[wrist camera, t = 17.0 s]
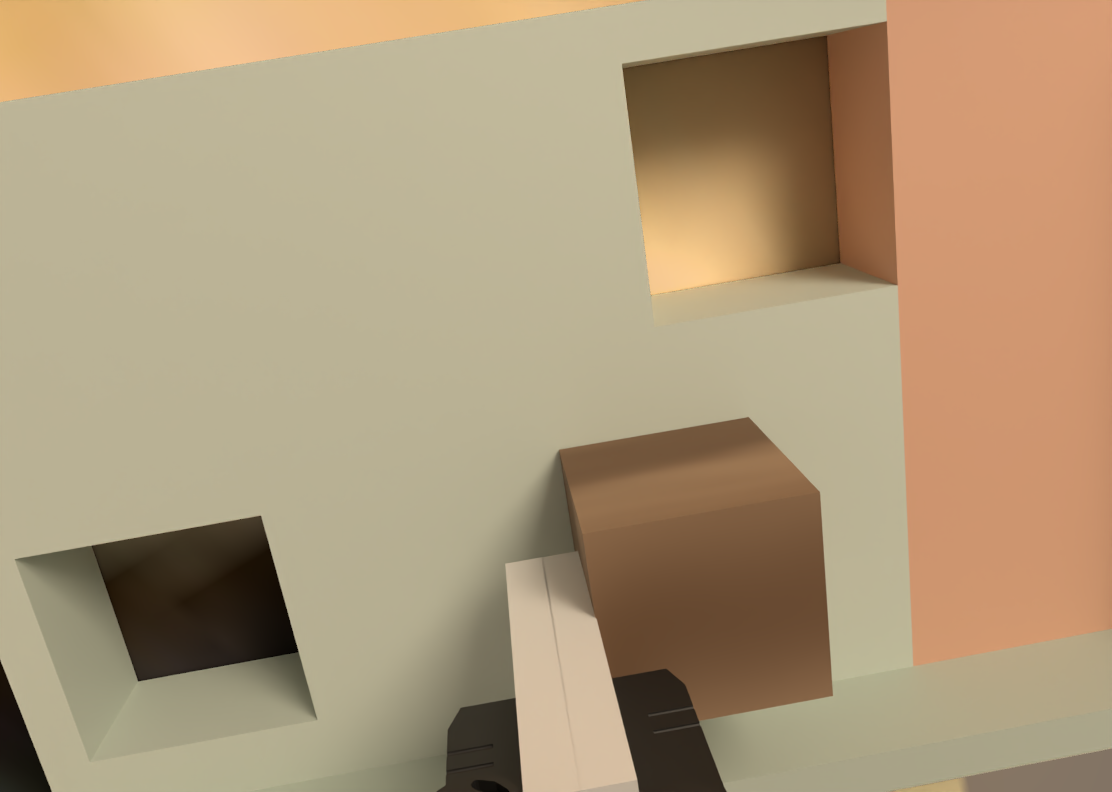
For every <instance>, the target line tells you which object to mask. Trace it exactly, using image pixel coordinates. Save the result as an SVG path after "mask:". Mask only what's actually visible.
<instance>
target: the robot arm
mask: <svg viewBox="0 0 1112 792" xmlns="http://www.w3.org/2000/svg"><path fill="white" fill-rule="evenodd" d="M505 567H506V580H507V593H508V605H509V618H510V631H511V644H512V657H513V670H514V683H515V696H516V698H512V699H506V700H501V701H495V702H489V703H484V704H478V705H473V706H467V707H462V708H460V710H459V711H458V713H457V715H456V716H455V718H454V720H453V722H452V723H451V725H450V727H449V728H448V734H447V760H446V773H447V775H446V785H445V786H444V787H442V788H441V789H439V790H438V791H437V792H727V791H726V789H725V787H724V785H723V782H722V780H721V777H720V775H719V772H718V769H717V767H716V764H715V761H714V759H713V756H712V754H711V751H710V748H709V746H708V743H707V740H706V738H705V735H704V733H703V730H702V727H701V726H700V722H699V719H698V717H697V714H696V712H695V709H694V708H693V704H692V701H691V698H690V696H689V693H688V691H687V688H686V685H685V684H684V683H683V682H682V681H681V680H679V679H678V678H677V677H676V676H675V675H673V674H672V673H671V672H670V671H669V670H667V669H661V670H655V671H649V672H644V673H638V674H633V675H627V676H622V677H616V678H611V674H610V670H609V666H608V662H607V658H606V654H605V650H604V646H603V642H602V638H601V634H600V630H599V627H598V623H597V619H596V618H595V615H594V611H593V607H592V603H591V600H590V596H589V592H588V588H587V584H586V580H585V576H584V573H583V569H582V565H581V561H580V557H579V553H578V551H575V552H569V553H564V554H558V555H552V556H546V557H541V558H535V559H529V560H523V561H518V562H512V563H506V564H505Z"/></svg>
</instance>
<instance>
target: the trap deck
mask: <svg viewBox="0 0 1112 792" xmlns="http://www.w3.org/2000/svg"><path fill="white" fill-rule="evenodd" d="M821 36H827V47H828V63H829V80H830V97H831V114H832V130H833V147H834V164H835V181H836V197H837V214H838V231H839V248H840V263H838V264H832V265H826V266H820V267H814V268H809V269H803V270H797V271H791V272H785V273H779V274H773V275H768V276H762V277H756V278H750V279H744V280H738V281H732V282H727V283H721V284H715V285H709V286H703V287H697V288H691V289H685V290H680V291H674V292H668V293H662V294H656V295H650V287H649V279H648V270H647V262H646V254H645V246H644V238H643V230H642V222H641V214H640V206H639V198H638V190H637V182H636V174H635V166H634V158H633V150H632V142H631V134H630V126H629V118H628V110H627V102H626V94H625V86H624V78H623V70H622V68H628V67H634V66H640V65H646V64H653V63H659V62H665V61H671V60H677V59H684V58H690V57H696V56H702V55H709V54H715V53H721V52H727V51H733V50H740V49H746V48H752V47H758V46H765V45H771V44H777V43H783V42H789V41H796V40H802V39H808V38H814V37H821ZM746 417H749V418H750V419H751V420H752V421H753V422H754V423H755V424H756V425H757V426H758V427H759V428H760V429H761V431H762V432H763V433H764V434H765V435H766V436H767V437H768V438H769V439H770V440H771V441H772V442H773V443H774V444H775V445H776V446H777V447H778V448H779V449H780V451H781V452H782V453H783V454H784V455H785V456H786V457H787V458H788V459H789V460H790V461H791V462H792V463H793V464H794V465H795V466H796V467H797V468H798V469H799V470H800V472H801V473H802V474H803V475H804V476H805V477H806V478H807V479H808V480H809V481H810V482H811V483H812V484H813V485H814V486H815V487H816V488H817V489H818V490H819V491H820V499H821V515H822V530H823V546H824V562H825V577H826V593H827V609H828V625H829V640H830V656H831V672H832V687H833V696H830V697H825V698H819V699H814V700H809V701H803V702H798V703H793V704H787V705H782V706H777V707H771V708H766V709H761V710H755V711H750V712H745V713H739V714H734V715H729V716H723V717H718V718H713V719H707V720H702V721H699V722H700V726H701V727H702V730H703V733H704V735H705V738H706V740H707V743H708V746H709V748H710V751H711V754H712V756H713V759H714V761H715V764H716V767H717V769H718V772H719V775H720V777H721V780H722V782H723V785H724V787H725V789H726V791H727V792H889V791H894V790H900V789H905V788H910V787H915V786H920V785H925V784H931V783H936V782H941V781H946V780H951V779H956V778H962V777H967V776H972V775H977V774H982V773H987V772H993V771H997V770H1003V769H1008V768H1013V767H1018V766H1023V765H1029V764H1034V763H1039V762H1044V761H1049V760H1054V759H1059V758H1064V757H1070V756H1075V755H1080V754H1085V753H1090V752H1095V751H1101V750H1106V749H1111V748H1112V0H645V1H639V2H632V3H626V4H620V5H613V6H607V7H601V8H594V9H588V10H582V11H575V12H569V13H563V14H556V15H550V16H544V17H537V18H531V19H525V20H518V21H512V22H506V23H499V24H493V25H487V26H480V27H474V28H468V29H461V30H455V31H449V32H442V33H436V34H430V35H423V36H417V37H411V38H404V39H398V40H392V41H385V42H379V43H373V44H366V45H360V46H354V47H347V48H341V49H335V50H328V51H322V52H316V53H309V54H303V55H297V56H290V57H284V58H278V59H271V60H265V61H259V62H252V63H246V64H240V65H233V66H227V67H221V68H214V69H208V70H202V71H195V72H189V73H183V74H176V75H170V76H164V77H157V78H151V79H145V80H138V81H132V82H126V83H119V84H113V85H107V86H100V87H94V88H88V89H81V90H75V91H69V92H62V93H56V94H50V95H43V96H37V97H31V98H24V99H18V100H12V101H5V102H0V660H1V663H2V665H3V668H4V670H5V673H6V675H7V678H8V680H9V683H10V686H11V688H12V691H13V693H14V696H15V698H16V701H17V703H18V706H19V709H20V711H21V714H22V716H23V719H24V721H25V724H26V726H27V729H28V732H29V734H30V737H31V739H32V742H33V744H34V747H35V749H36V752H37V754H38V757H39V760H40V762H41V765H42V767H43V770H44V772H45V775H46V777H47V780H48V783H49V785H50V788H51V790H52V792H437V791H438V790H439V789H441V788H442V787H444V786H445V785H446V775H447V773H446V760H447V734H448V728H449V727H450V725H451V723H452V722H453V720H454V718H455V716H456V715H457V713H458V711H459V710H460V708H462V707H467V706H473V705H478V704H484V703H489V702H495V701H501V700H506V699H512V698H516V696H515V683H514V670H513V657H512V644H511V631H510V618H509V605H508V593H507V580H506V567H505V564H506V563H512V562H518V561H523V560H529V559H535V558H541V557H546V556H552V555H558V554H564V553H569V552H575V550H574V544H573V537H572V531H571V524H570V518H569V512H568V505H567V499H566V492H565V486H564V480H563V473H562V467H561V460H560V454H559V450H560V449H566V448H572V447H577V446H583V445H589V444H595V443H601V442H607V441H612V440H618V439H624V438H630V437H636V436H641V435H647V434H653V433H659V432H665V431H671V430H676V429H682V428H688V427H694V426H700V425H706V424H711V423H717V422H723V421H729V420H735V419H741V418H746ZM255 516H261V517H262V521H263V524H264V528H265V532H266V535H267V539H268V542H269V546H270V550H271V553H272V557H273V561H274V564H275V568H276V571H277V575H278V579H279V582H280V586H281V589H282V593H283V597H284V600H285V604H286V608H287V611H288V615H289V618H290V622H291V626H292V629H293V633H294V637H295V640H296V644H297V647H298V651H299V652H297V653H292V654H287V655H281V656H276V657H270V658H265V659H259V660H254V661H248V662H243V663H237V664H232V665H226V666H221V667H216V668H210V669H205V670H199V671H194V672H188V673H183V674H177V675H172V676H166V677H161V678H155V679H150V680H145V681H139V682H138V680H137V677H136V674H135V671H134V668H133V665H132V662H131V660H130V657H129V654H128V651H127V648H126V645H125V642H124V639H123V636H122V633H121V630H120V627H119V624H118V622H117V619H116V616H115V613H114V610H113V607H112V604H111V601H110V598H109V595H108V592H107V589H106V586H105V583H104V581H103V578H102V575H101V572H100V569H99V566H98V563H97V560H96V557H95V554H94V551H93V548H92V545H97V544H103V543H109V542H114V541H120V540H126V539H131V538H137V537H142V536H148V535H154V534H159V533H165V532H171V531H176V530H182V529H188V528H193V527H199V526H205V525H210V524H216V523H222V522H227V521H233V520H239V519H244V518H250V517H255Z"/></svg>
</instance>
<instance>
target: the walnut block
mask: <svg viewBox="0 0 1112 792" xmlns="http://www.w3.org/2000/svg"><path fill="white" fill-rule="evenodd" d="M559 454H560V460H561V467H562V473H563V480H564V486H565V492H566V499H567V505H568V512H569V518H570V524H571V531H572V537H573V544H574V550H575V551H578V553H579V557H580V561H581V565H582V569H583V573H584V576H585V580H586V584H587V588H588V592H589V596H590V600H591V603H592V607H593V611H594V615H595V618H596V619H597V623H598V627H599V630H600V634H601V638H602V642H603V646H604V650H605V654H606V658H607V662H608V666H609V670H610V674H611V678H616V677H622V676H627V675H633V674H638V673H644V672H649V671H655V670H661V669H667V670H669V671H670V672H671V673H672V674H673V675H675V676H676V677H677V678H678V679H679V680H681V681H682V682H683V683H684V684H685V685H686V688H687V691H688V693H689V696H690V698H691V701H692V704H693V708H694V709H695V712H696V714H697V717H698V719H699V721H702V720H707V719H713V718H718V717H723V716H729V715H734V714H739V713H745V712H750V711H755V710H761V709H766V708H771V707H777V706H782V705H787V704H793V703H798V702H803V701H809V700H814V699H819V698H825V697H830V696H833V687H832V672H831V656H830V640H829V625H828V609H827V593H826V577H825V562H824V546H823V530H822V515H821V499H820V491H819V490H818V489H817V488H816V487H815V486H814V485H813V484H812V483H811V482H810V481H809V480H808V479H807V478H806V477H805V476H804V475H803V474H802V473H801V472H800V470H799V469H798V468H797V467H796V466H795V465H794V464H793V463H792V462H791V461H790V460H789V459H788V458H787V457H786V456H785V455H784V454H783V453H782V452H781V451H780V449H779V448H778V447H777V446H776V445H775V444H774V443H773V442H772V441H771V440H770V439H769V438H768V437H767V436H766V435H765V434H764V433H763V432H762V431H761V429H760V428H759V427H758V426H757V425H756V424H755V423H754V422H753V421H752V420H751V419H750V418H749V417H746V418H741V419H735V420H729V421H723V422H717V423H711V424H706V425H700V426H694V427H688V428H682V429H676V430H671V431H665V432H659V433H653V434H647V435H641V436H636V437H630V438H624V439H618V440H612V441H607V442H601V443H595V444H589V445H583V446H577V447H572V448H566V449H560V450H559Z"/></svg>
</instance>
